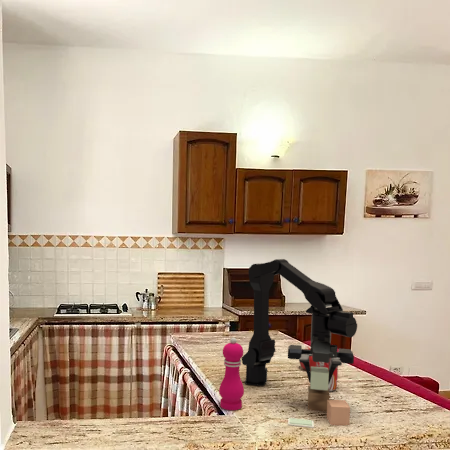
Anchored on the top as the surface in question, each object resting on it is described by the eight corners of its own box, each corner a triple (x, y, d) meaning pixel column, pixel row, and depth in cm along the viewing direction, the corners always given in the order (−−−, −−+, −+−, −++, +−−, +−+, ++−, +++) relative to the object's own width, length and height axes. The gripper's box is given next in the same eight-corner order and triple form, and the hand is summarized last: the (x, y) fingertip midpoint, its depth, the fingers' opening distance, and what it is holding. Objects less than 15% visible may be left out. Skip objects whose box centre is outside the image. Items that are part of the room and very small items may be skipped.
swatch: (287, 425, 128) (287, 422, 128) (288, 419, 132) (288, 417, 132) (313, 427, 127) (313, 425, 127) (313, 421, 131) (313, 419, 131)
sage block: (310, 388, 139) (311, 371, 139) (310, 383, 144) (310, 366, 144) (328, 390, 139) (328, 373, 139) (327, 384, 144) (327, 367, 144)
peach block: (330, 425, 130) (331, 406, 129) (326, 417, 134) (327, 399, 134) (349, 425, 130) (350, 407, 129) (344, 418, 135) (345, 400, 134)
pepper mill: (246, 403, 142) (249, 336, 142) (239, 413, 135) (241, 342, 135) (223, 399, 144) (225, 333, 144) (215, 408, 137) (217, 338, 137)
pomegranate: (325, 366, 181) (326, 342, 181) (326, 374, 172) (327, 348, 171) (298, 363, 183) (300, 339, 183) (298, 371, 173) (299, 345, 173)
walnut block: (307, 410, 139) (308, 393, 139) (307, 402, 145) (308, 386, 145) (328, 412, 138) (329, 395, 138) (328, 404, 144) (328, 387, 144)
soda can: (337, 393, 153) (338, 356, 153) (314, 391, 154) (316, 354, 154) (336, 386, 160) (338, 350, 160) (315, 384, 161) (316, 348, 161)
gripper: (288, 334, 135) (286, 389, 135) (357, 339, 132) (354, 396, 132) (289, 325, 146) (287, 376, 146) (352, 330, 143) (350, 382, 143)
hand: (318, 383), depth 142 cm, fingers closed on sage block, 5 cm apart
